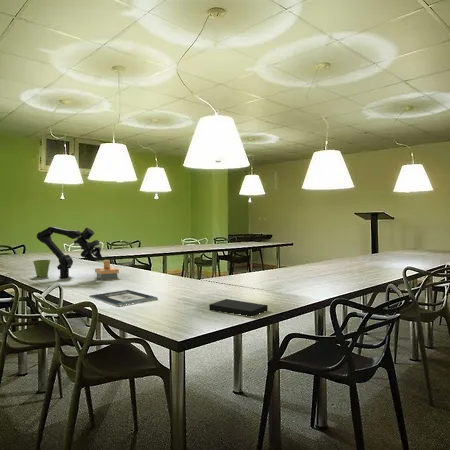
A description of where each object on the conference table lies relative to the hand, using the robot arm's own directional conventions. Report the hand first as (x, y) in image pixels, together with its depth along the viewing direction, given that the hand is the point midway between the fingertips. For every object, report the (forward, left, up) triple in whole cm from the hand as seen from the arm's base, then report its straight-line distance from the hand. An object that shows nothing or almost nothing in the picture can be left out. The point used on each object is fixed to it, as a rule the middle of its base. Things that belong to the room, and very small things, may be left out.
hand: (99, 260), depth 269 cm
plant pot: (-35, -31, -13) cm, 48 cm away
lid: (+4, +4, -8) cm, 10 cm away
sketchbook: (+70, -8, -14) cm, 72 cm away
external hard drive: (+126, +27, -13) cm, 130 cm away
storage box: (+4, +4, -13) cm, 14 cm away
